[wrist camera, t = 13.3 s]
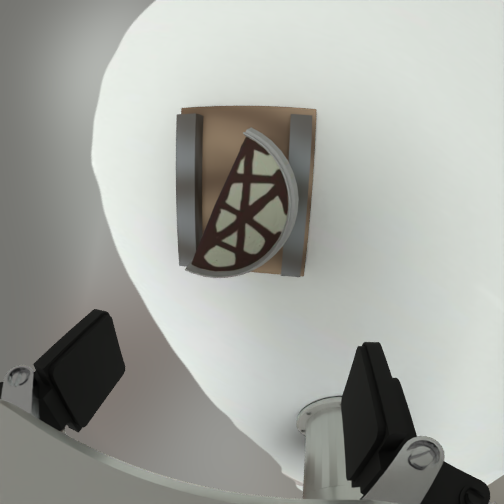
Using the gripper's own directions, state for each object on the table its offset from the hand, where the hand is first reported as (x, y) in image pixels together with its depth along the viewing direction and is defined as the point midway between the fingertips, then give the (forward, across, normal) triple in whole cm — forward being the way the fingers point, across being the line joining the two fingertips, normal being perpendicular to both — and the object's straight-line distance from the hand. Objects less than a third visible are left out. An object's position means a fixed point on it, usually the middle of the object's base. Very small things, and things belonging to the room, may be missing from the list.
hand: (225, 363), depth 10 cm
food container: (+22, +1, -2) cm, 22 cm away
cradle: (+23, +3, -3) cm, 23 cm away
